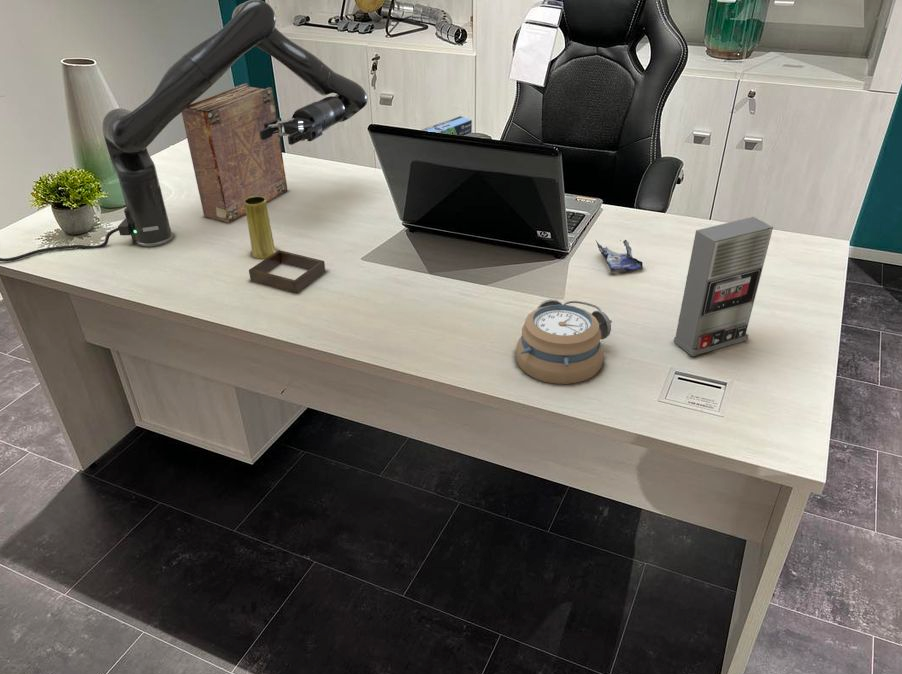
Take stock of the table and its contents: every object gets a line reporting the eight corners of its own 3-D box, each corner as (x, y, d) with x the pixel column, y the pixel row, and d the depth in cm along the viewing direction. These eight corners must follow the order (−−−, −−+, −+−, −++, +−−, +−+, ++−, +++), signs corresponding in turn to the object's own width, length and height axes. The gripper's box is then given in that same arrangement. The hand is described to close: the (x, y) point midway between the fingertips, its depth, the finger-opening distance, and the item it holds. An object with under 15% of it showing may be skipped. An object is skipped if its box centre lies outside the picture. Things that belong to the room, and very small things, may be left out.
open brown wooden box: (250, 281, 181) (248, 270, 180) (280, 260, 190) (278, 249, 188) (297, 293, 176) (295, 282, 174) (325, 271, 184) (324, 260, 182)
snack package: (641, 254, 188) (593, 249, 190) (646, 232, 184) (596, 228, 185) (640, 284, 180) (590, 279, 182) (645, 262, 175) (594, 257, 177)
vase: (280, 250, 194) (272, 197, 186) (266, 260, 190) (257, 206, 181) (261, 245, 196) (252, 193, 188) (246, 256, 192) (236, 202, 184)
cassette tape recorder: (692, 358, 151) (717, 243, 137) (673, 342, 156) (694, 230, 141) (747, 341, 156) (777, 228, 141) (727, 327, 160) (753, 216, 146)
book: (264, 185, 229) (247, 82, 212) (288, 191, 226) (272, 86, 208) (203, 217, 212) (180, 107, 194) (228, 223, 208) (206, 112, 190)
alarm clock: (503, 330, 144) (549, 277, 160) (501, 370, 150) (546, 315, 166) (589, 353, 137) (628, 295, 153) (584, 394, 143) (623, 334, 159)
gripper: (289, 101, 198) (249, 119, 186) (335, 107, 192) (296, 126, 181) (293, 129, 202) (254, 149, 191) (338, 137, 197) (300, 157, 185)
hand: (275, 138), depth 186 cm, fingers open, 8 cm apart
